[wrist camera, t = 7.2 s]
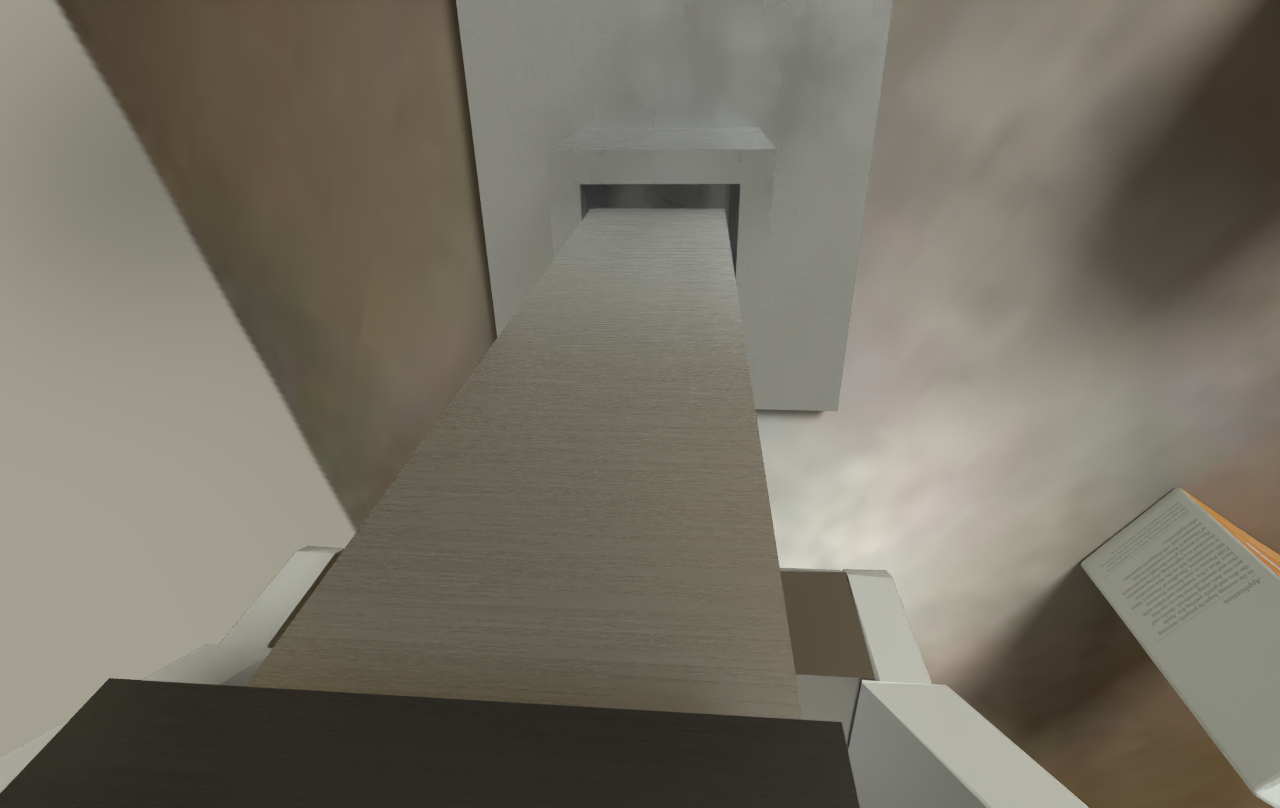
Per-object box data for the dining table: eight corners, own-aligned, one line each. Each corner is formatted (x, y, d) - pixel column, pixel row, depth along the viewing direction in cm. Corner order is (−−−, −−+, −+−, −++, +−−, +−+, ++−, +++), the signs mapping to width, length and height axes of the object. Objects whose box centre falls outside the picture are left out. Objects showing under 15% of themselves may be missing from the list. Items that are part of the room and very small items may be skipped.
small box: (1286, 555, 35) (1576, 803, 23) (1179, 628, 38) (1392, 881, 26) (1177, 481, 33) (1428, 706, 22) (1074, 561, 36) (1250, 799, 24)
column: (588, 173, 20) (-128, 925, 3) (725, 172, 19) (904, 1025, 2) (597, 361, 22) (274, 1316, 5) (718, 363, 22) (774, 1383, 5)
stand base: (462, -28, 26) (189, -123, 12) (890, -40, 24) (1132, -162, 11) (511, 392, 34) (383, 620, 20) (832, 399, 33) (927, 647, 19)
